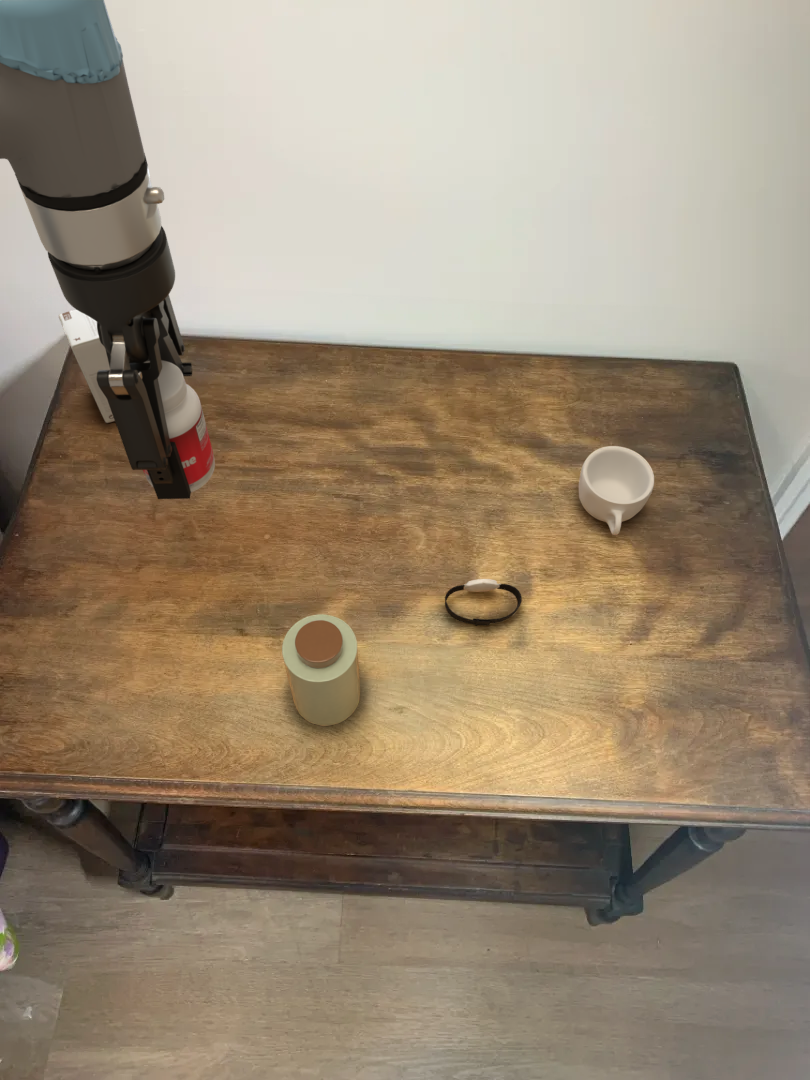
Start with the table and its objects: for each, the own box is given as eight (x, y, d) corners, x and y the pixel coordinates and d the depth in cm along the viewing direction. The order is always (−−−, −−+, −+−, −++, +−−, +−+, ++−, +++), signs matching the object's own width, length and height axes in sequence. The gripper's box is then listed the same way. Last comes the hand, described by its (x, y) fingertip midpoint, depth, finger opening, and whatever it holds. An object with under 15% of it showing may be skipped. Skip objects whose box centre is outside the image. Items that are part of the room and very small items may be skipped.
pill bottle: (138, 495, 70) (102, 407, 61) (154, 442, 74) (122, 350, 65) (210, 499, 70) (184, 411, 61) (222, 445, 74) (199, 354, 65)
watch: (516, 587, 84) (520, 569, 81) (521, 628, 82) (526, 610, 79) (442, 590, 84) (444, 571, 81) (445, 630, 81) (447, 613, 78)
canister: (291, 726, 75) (278, 676, 66) (294, 663, 79) (282, 607, 70) (360, 725, 76) (356, 675, 66) (360, 662, 79) (357, 606, 70)
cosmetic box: (141, 413, 97) (112, 335, 87) (104, 425, 96) (70, 348, 85) (126, 379, 100) (96, 300, 90) (90, 391, 99) (56, 313, 88)
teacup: (572, 473, 93) (581, 443, 88) (639, 479, 93) (652, 449, 88) (573, 546, 87) (583, 517, 83) (645, 552, 87) (659, 524, 82)
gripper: (143, 338, 47) (212, 554, 66) (180, 152, 58) (230, 385, 77) (11, 339, 47) (118, 556, 66) (73, 152, 57) (150, 385, 76)
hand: (178, 463), depth 71 cm, fingers closed on pill bottle, 6 cm apart
